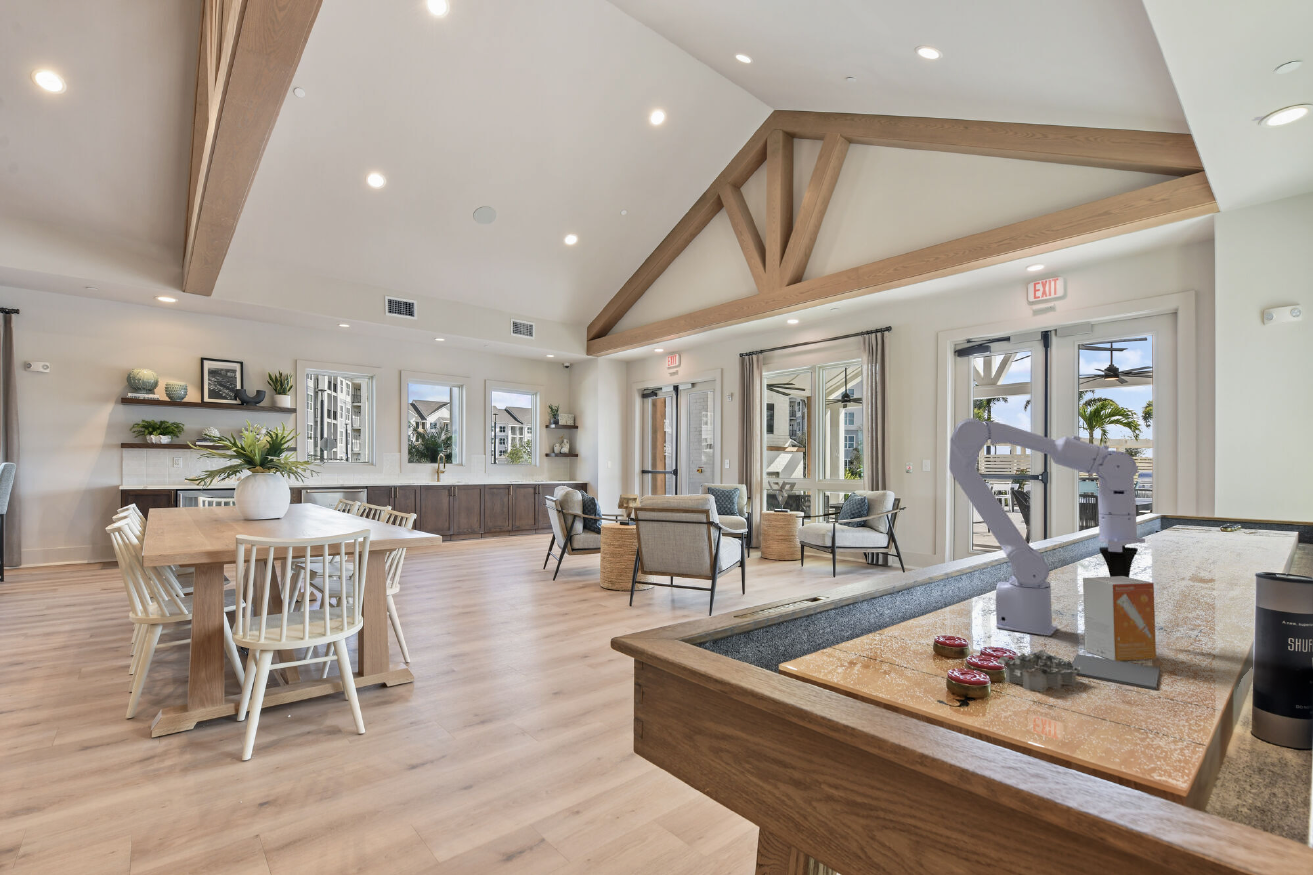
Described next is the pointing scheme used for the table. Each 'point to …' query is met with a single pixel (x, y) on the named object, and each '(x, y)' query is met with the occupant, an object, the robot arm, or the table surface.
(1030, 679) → the egg carton
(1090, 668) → the mat
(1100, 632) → the small box
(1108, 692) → the table surface
